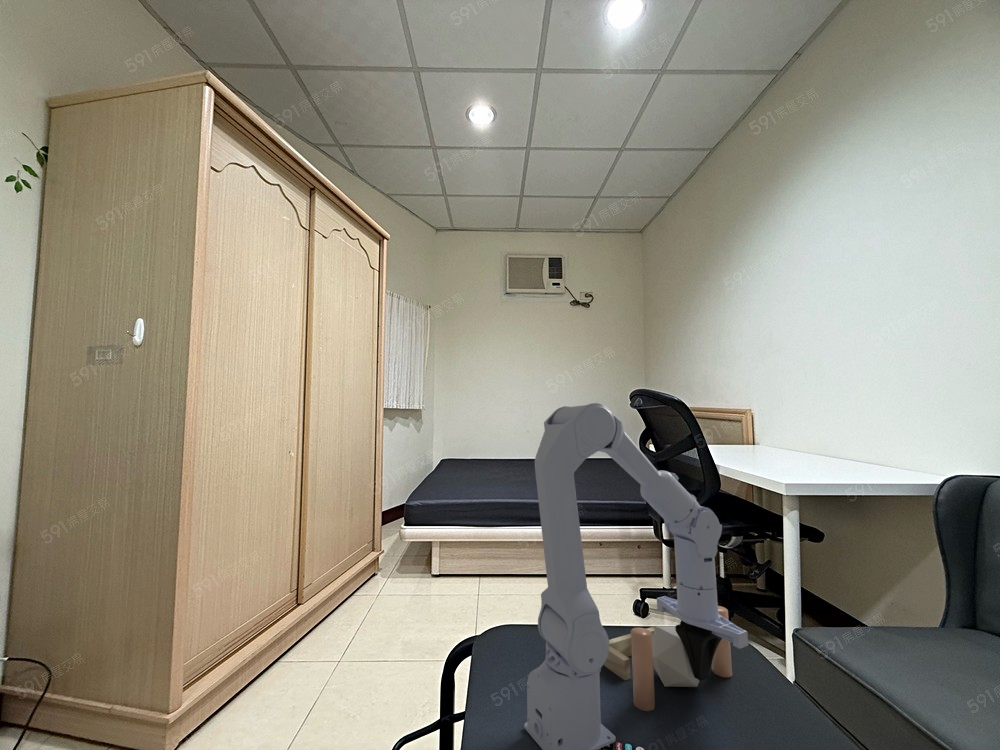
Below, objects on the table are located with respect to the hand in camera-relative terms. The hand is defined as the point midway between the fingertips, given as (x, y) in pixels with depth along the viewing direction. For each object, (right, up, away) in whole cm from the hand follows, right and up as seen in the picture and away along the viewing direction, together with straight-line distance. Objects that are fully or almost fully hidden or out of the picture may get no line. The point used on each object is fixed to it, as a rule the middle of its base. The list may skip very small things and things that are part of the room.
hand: (701, 677), depth 64 cm
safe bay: (-6, -4, +10) cm, 12 cm away
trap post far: (+6, -4, +6) cm, 10 cm away
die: (-2, -4, +4) cm, 6 cm away
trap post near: (-9, -3, -2) cm, 10 cm away
